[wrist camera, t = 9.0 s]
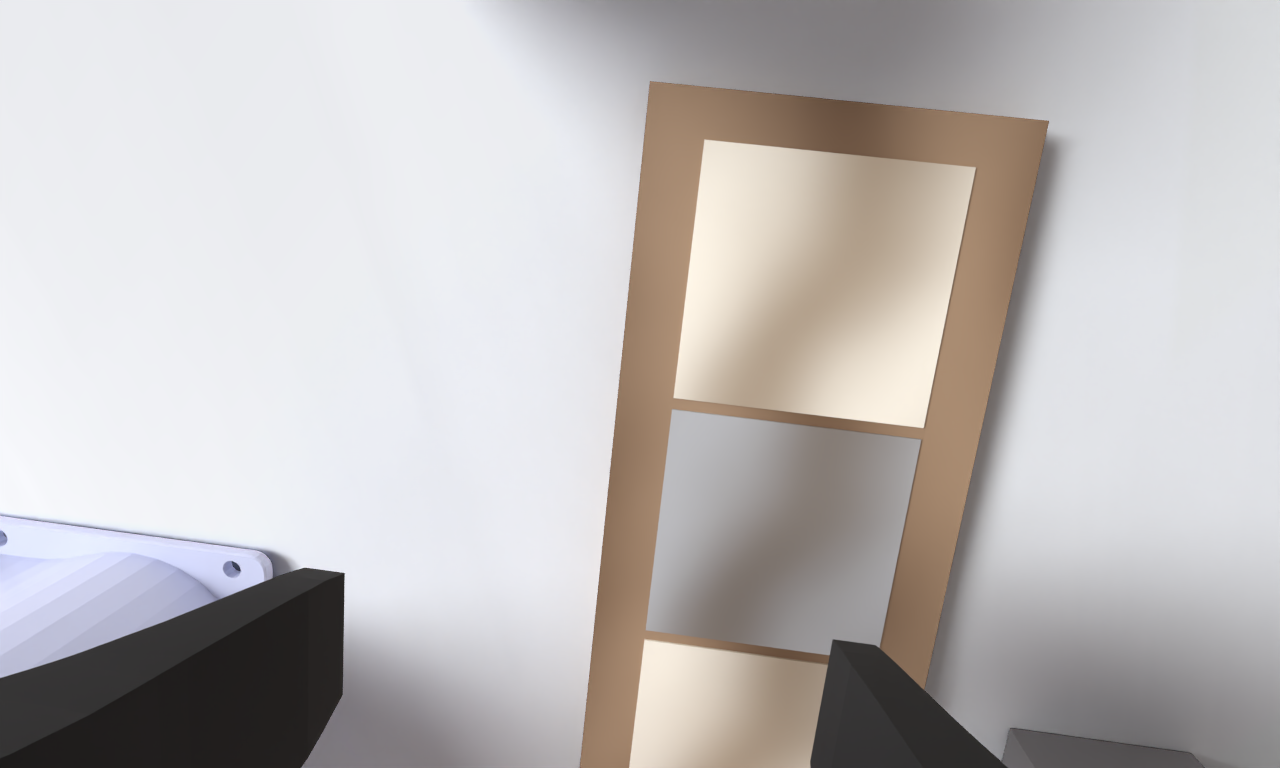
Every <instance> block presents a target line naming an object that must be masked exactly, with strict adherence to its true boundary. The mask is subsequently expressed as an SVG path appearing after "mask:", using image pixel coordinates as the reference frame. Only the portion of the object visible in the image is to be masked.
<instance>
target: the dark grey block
mask: <svg viewBox="0 0 1280 768" xmlns="http://www.w3.org/2000/svg"><path fill="white" fill-rule="evenodd" d="M1002 763H1003V764H1004V765H1006V766H1007V767H1008V768H1205V767H1204V766H1203V765H1202V764H1201V763H1200V762H1199V761H1198V760H1197V759H1196V758H1195V757H1194V756H1193V755H1192V754H1191V753H1185V752H1178V751H1171V750H1164V749H1157V748H1149V747H1142V746H1135V745H1128V744H1121V743H1114V742H1106V741H1099V740H1092V739H1085V738H1078V737H1071V736H1063V735H1056V734H1049V733H1042V732H1035V731H1028V730H1020V729H1013V728H1010V731H1009V735H1008V739H1007V743H1006V746H1005V750H1004V754H1003V758H1002Z"/></svg>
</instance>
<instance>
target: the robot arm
mask: <svg viewBox="0 0 1280 768" xmlns="http://www.w3.org/2000/svg"><path fill="white" fill-rule="evenodd" d="M3 532H4V533H5V534H6V536H7V538H6V537H5V536H4V533H3ZM232 561H233V562H236V563H237V564H238V565H239V566H240V569H241V572H240V571H237V570H236V569H235V568H234V567H233V566H232ZM344 575H345V573H340V572H332V571H325V570H318V569H310V568H302V569H299V570H295V571H292V572H289V573H286V574H283V575H280V576H277V577H275V578H273V568H272V563H271V561H270V559H269V558H268V556H266V555H265V554H264V553H262V552H259V551H256V550H249V549H242V548H235V547H227V546H220V545H212V544H205V543H197V542H190V541H183V540H175V539H168V538H160V537H153V536H145V535H138V534H131V533H123V532H116V531H108V530H101V529H93V528H86V527H79V526H71V525H64V524H56V523H49V522H41V521H34V520H27V519H19V518H12V517H4V516H0V768H301V767H302V765H303V764H304V762H305V761H306V760H307V758H308V756H309V755H310V753H311V751H312V749H313V748H314V746H315V744H316V742H317V741H318V739H319V737H320V735H321V734H322V732H323V730H324V728H325V727H326V725H327V723H328V721H329V719H330V717H331V715H332V713H333V711H334V710H335V708H336V706H337V704H338V702H339V700H340V698H341V696H342V693H343V634H344ZM810 766H811V768H1008V767H1007V766H1006V765H1004V764H1003V763H1002V762H1001V761H1000V760H999V759H998V758H996V757H995V756H994V755H993V754H992V753H991V752H990V751H989V750H987V749H986V748H985V747H984V746H983V745H982V744H981V743H980V742H978V741H977V740H976V739H975V738H974V737H973V736H972V735H971V734H970V733H969V732H968V731H966V730H965V729H964V728H963V727H962V726H961V725H960V724H959V723H958V722H957V721H956V720H955V719H954V718H953V717H952V716H950V715H949V714H948V713H947V712H946V711H945V710H944V709H943V708H942V707H941V706H940V705H939V704H938V703H937V702H936V701H935V700H934V699H933V698H932V697H931V696H930V695H929V694H928V693H927V692H925V691H924V690H923V689H922V688H921V687H920V686H919V685H918V684H917V683H916V682H915V681H914V680H913V679H912V678H911V677H910V676H909V675H908V674H907V673H906V672H905V671H904V670H903V669H902V668H901V667H900V666H899V665H898V664H896V663H895V662H894V661H893V660H892V659H891V658H890V657H889V656H888V655H887V654H886V653H885V652H883V651H882V650H881V649H880V648H879V647H877V646H876V645H872V644H865V643H857V642H850V641H842V640H835V639H833V640H832V645H831V651H830V656H829V662H828V667H827V672H826V678H825V683H824V689H823V694H822V700H821V705H820V710H819V716H818V721H817V727H816V732H815V738H814V743H813V748H812V754H811V759H810Z"/></svg>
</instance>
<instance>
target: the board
mask: <svg viewBox="0 0 1280 768" xmlns="http://www.w3.org/2000/svg"><path fill="white" fill-rule="evenodd" d="M1048 124H1049V121H1044V120H1034V119H1024V118H1014V117H1004V116H994V115H984V114H974V113H964V112H953V111H943V110H933V109H923V108H913V107H903V106H893V105H883V104H873V103H863V102H853V101H843V100H833V99H823V98H813V97H803V96H792V95H782V94H772V93H762V92H752V91H742V90H732V89H722V88H712V87H702V86H692V85H682V84H672V83H662V82H652V81H650V86H649V96H648V106H647V115H646V125H645V135H644V145H643V155H642V164H641V174H640V184H639V194H638V204H637V213H636V223H635V233H634V243H633V252H632V262H631V272H630V282H629V292H628V301H627V311H626V321H625V331H624V340H623V350H622V360H621V370H620V380H619V389H618V399H617V409H616V419H615V429H614V438H613V448H612V458H611V468H610V477H609V487H608V497H607V507H606V517H605V526H604V536H603V546H602V556H601V565H600V575H599V585H598V595H597V605H596V614H595V624H594V634H593V644H592V654H591V663H590V673H589V683H588V693H587V702H586V712H585V722H584V732H583V742H582V751H581V761H580V768H811V766H810V759H811V754H812V748H813V743H814V738H815V732H816V727H817V721H818V716H819V710H820V705H821V700H822V694H823V689H824V683H825V678H826V672H827V667H828V662H829V656H830V651H831V645H832V640H833V639H835V640H842V641H850V642H857V643H865V644H872V645H876V646H877V647H879V648H880V649H881V650H882V651H883V652H885V653H886V654H887V655H888V656H889V657H890V658H891V659H892V660H893V661H894V662H895V663H896V664H898V665H899V666H900V667H901V668H902V669H903V670H904V671H905V672H906V673H907V674H908V675H909V676H910V677H911V678H912V679H913V680H914V681H915V682H916V683H917V684H918V685H919V686H920V687H921V688H922V689H923V690H924V689H925V685H926V680H927V675H928V671H929V666H930V662H931V657H932V653H933V648H934V644H935V639H936V634H937V630H938V625H939V621H940V616H941V612H942V607H943V602H944V598H945V593H946V589H947V584H948V580H949V575H950V571H951V566H952V561H953V557H954V552H955V548H956V543H957V539H958V534H959V529H960V525H961V520H962V516H963V511H964V507H965V502H966V498H967V493H968V488H969V484H970V479H971V475H972V470H973V466H974V461H975V457H976V452H977V447H978V443H979V438H980V434H981V429H982V425H983V420H984V415H985V411H986V406H987V402H988V397H989V393H990V388H991V384H992V379H993V374H994V370H995V365H996V361H997V356H998V352H999V347H1000V343H1001V338H1002V333H1003V329H1004V324H1005V320H1006V315H1007V311H1008V306H1009V301H1010V297H1011V292H1012V288H1013V283H1014V279H1015V274H1016V270H1017V265H1018V260H1019V256H1020V251H1021V247H1022V242H1023V238H1024V233H1025V229H1026V224H1027V219H1028V215H1029V210H1030V206H1031V201H1032V197H1033V192H1034V187H1035V183H1036V178H1037V174H1038V169H1039V165H1040V160H1041V156H1042V151H1043V146H1044V142H1045V137H1046V133H1047V128H1048Z"/></svg>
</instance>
